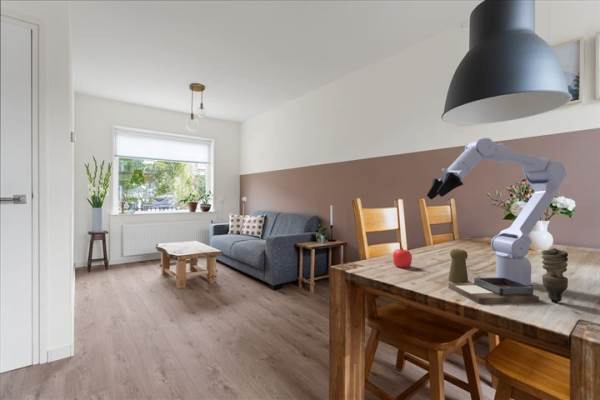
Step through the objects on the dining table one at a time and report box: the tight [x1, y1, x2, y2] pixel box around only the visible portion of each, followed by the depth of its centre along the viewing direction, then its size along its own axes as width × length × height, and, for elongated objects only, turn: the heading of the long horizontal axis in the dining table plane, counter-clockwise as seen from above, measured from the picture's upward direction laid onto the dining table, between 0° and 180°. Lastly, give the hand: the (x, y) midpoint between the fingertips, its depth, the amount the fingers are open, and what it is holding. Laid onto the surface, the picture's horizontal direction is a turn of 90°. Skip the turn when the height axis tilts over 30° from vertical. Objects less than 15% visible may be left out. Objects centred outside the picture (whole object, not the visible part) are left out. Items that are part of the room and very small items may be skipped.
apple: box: [392, 247, 413, 269], centre depth 115 cm, size 8×8×8 cm
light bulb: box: [540, 247, 569, 304], centre depth 77 cm, size 6×6×15 cm
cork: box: [447, 248, 469, 283], centre depth 95 cm, size 6×6×11 cm
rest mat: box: [456, 285, 494, 294], centre depth 82 cm, size 7×7×1 cm
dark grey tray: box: [473, 276, 534, 296], centre depth 83 cm, size 10×10×2 cm
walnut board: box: [447, 282, 540, 305], centre depth 82 cm, size 18×13×2 cm
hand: (434, 196), depth 92 cm, fingers open, 7 cm apart
